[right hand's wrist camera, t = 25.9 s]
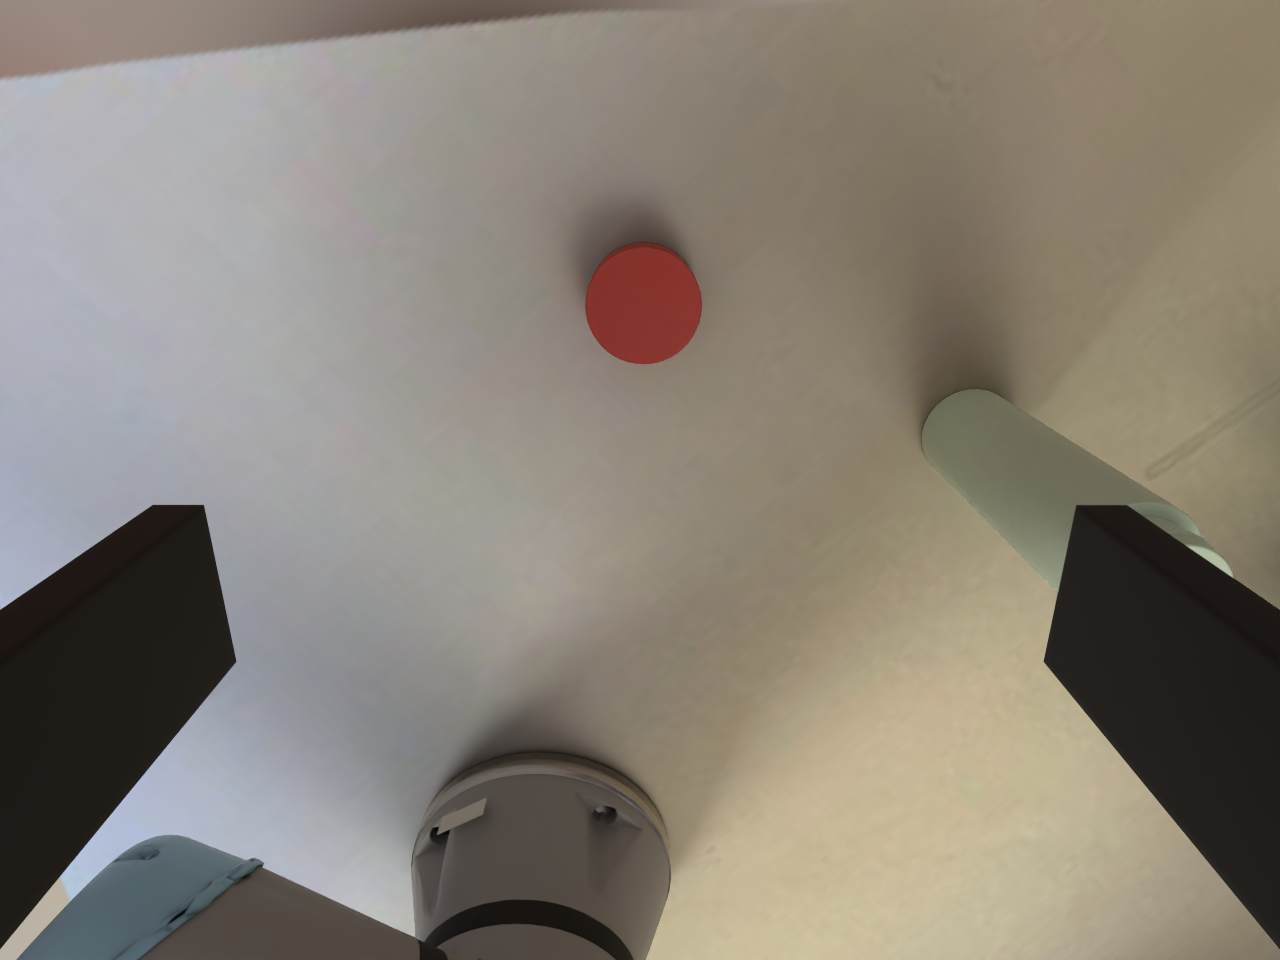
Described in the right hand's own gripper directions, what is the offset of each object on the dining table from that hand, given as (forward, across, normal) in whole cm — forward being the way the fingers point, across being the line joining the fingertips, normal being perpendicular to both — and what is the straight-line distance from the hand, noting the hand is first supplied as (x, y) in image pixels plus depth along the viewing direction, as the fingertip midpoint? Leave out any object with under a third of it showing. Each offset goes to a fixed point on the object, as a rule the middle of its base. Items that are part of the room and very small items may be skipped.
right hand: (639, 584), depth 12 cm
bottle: (+27, +16, -6) cm, 32 cm away
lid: (+25, 0, 0) cm, 25 cm away
